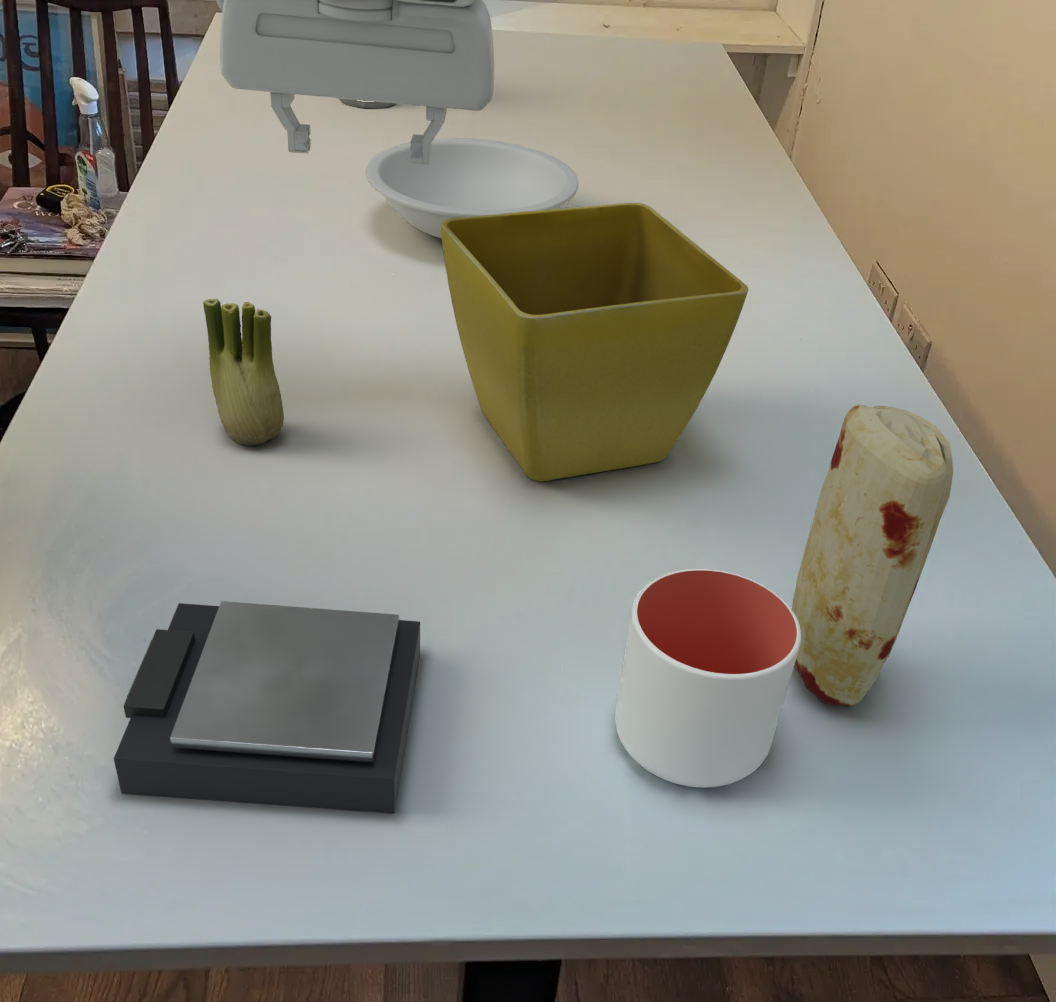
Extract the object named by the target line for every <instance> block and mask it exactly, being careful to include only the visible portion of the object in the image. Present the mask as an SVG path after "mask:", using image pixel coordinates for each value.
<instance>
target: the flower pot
mask: <svg viewBox="0 0 1056 1002" xmlns="http://www.w3.org/2000/svg"><path fill="white" fill-rule="evenodd" d="M440 224H441V237H442V239H441V246H442V251H443V252H442V253H443V258H444V259H443V260H444V266H445V272H446V278H447V284H448V289H449V295H450V299H451V306H452V309H453V315H454V320H455V323H456V328H457V332H458V337H459V341H460V344H461V348H462V352H463V355H464V359H465V362H466V366H467V370H468V373H469V376H470V379H471V383H472V386H473V390H474V393H475V396H476V399H477V401H478V404H479V407H480V411H481V412H482V414H483V416H484V417H485V419H486V420H487V421H488V422H489V424H490V426H491V427H492V429H493V430H494V432H495V433H496V434H497V436H498V437H499V438H500V441H501V442H502V443H503V444H504V446H505V447H506V448H507V450H508V451H509V453H510V454H511V455H512V457H513V458H514V460H515V462H516V463H517V464H518V465H519V467H520V469H521V470H522V471H523V473H524V474H525V475H526V477H527V478H528V479H530V480H532V481H536V482H546V481H547V482H548V481H552V480H558V479H564V478H570V477H577V476H582V475H583V476H584V475H588V474H595V473H601V472H607V471H612V470H619V469H625V468H631V467H635V466H643V465H648V464H654V463H659V462H662V461H664V460H665V459H666V458H667V456H668V454H669V453H670V452H671V451H672V449H673V447H674V446H675V445H676V443H677V442H678V440H679V438H680V437H681V435H682V433H683V432H684V430H685V429H686V428H687V426H688V424H689V422H690V421H691V419H692V418H693V416H694V414H695V412H696V410H697V409H698V407H699V406H700V404H701V402H702V400H703V398H704V397H705V395H706V393H707V391H708V389H709V387H710V385H711V383H712V381H713V379H714V377H715V375H716V373H717V371H718V368H719V366H720V364H721V362H722V359H723V358H724V355H725V353H726V351H727V349H728V347H729V344H730V341H731V338H732V336H733V334H734V332H735V329H736V326H737V324H738V321H739V318H740V316H741V314H742V311H743V308H744V305H745V301H746V299H747V296H748V292H749V286H748V285H747V284H745V282H743V280H741V279H740V278H738V277H737V276H736V275H735V274H734V273H732V271H729V270H728V269H727V267H725V266H723V264H721V263H720V262H718V260H716V259H715V258H714V257H713V256H712V255H710V254H709V253H708V252H707V251H706V250H704V249H703V248H702V247H700V246H699V245H698V244H697V243H696V242H694V241H693V240H691V239H690V238H689V237H688V236H687V235H685V233H683V232H682V231H681V230H680V229H678V228H677V227H676V226H675V225H674V224H672V223H671V222H670V221H669V220H667V218H665V217H664V216H662V215H661V214H660V213H659V212H657V211H656V210H655V209H654V208H652V207H651V206H650V205H648V204H645V203H642V202H622V203H610V204H609V203H608V204H597V205H586V206H575V207H574V206H573V207H563V208H561V207H560V208H557V209H548V210H536V211H525V212H515V213H503V214H492V215H481V216H470V217H459V218H450V219H446V220H443V221H442V222H441V223H440Z"/></svg>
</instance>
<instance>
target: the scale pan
mask: <svg viewBox="0 0 1056 1002" xmlns="http://www.w3.org/2000/svg"><path fill="white" fill-rule="evenodd" d="M218 606H219V609H218V611H217V614H216V617H215V619H214V622H213V625H212V627H211V630H210V633H209V635H208V638H207V641H206V643H205V646H204V649H203V651H202V654H201V656H200V659H199V662H198V664H197V667H196V670H195V672H194V675H193V678H192V680H191V683H190V686H189V688H188V691H187V694H186V696H185V699H184V702H183V704H182V707H181V710H180V712H179V715H178V718H177V720H176V723H175V726H174V728H173V731H172V734H171V736H170V742H171V747H172V748H185V749H199V750H212V751H226V752H239V753H252V754H266V755H279V756H293V757H306V758H320V759H333V760H347V761H360V762H373V761H374V756H375V751H376V745H377V740H378V735H379V729H380V724H381V719H382V713H383V708H384V703H385V697H386V692H387V686H388V681H389V676H390V670H391V665H392V660H393V654H394V649H395V644H396V638H397V633H398V628H399V620H400V614H396V613H383V612H370V611H357V610H346V609H345V610H344V609H332V608H331V609H330V608H318V607H305V606H291V605H279V604H266V603H252V602H251V603H250V602H239V601H228V600H227V601H226V600H221V601H220V603H219V605H218Z"/></svg>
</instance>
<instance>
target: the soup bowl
mask: <svg viewBox="0 0 1056 1002" xmlns="http://www.w3.org/2000/svg"><path fill="white" fill-rule="evenodd" d="M411 153H412V152H411V141H410V142H406V143H405V142H404V143H401V144H398V145H394V146H391V147H388V148H387V149H384V150H382V151H380V152H379V153H377V154H376V155H374V156H373V157H372V158H371V159H370V160H369V161H368V163H367V165H366V168H365V176H366V180H367V182H368V183H369V185H370V186H371V187H372V188H373V189H374V190H375V191H376V192H377V193H378V194H380V195H381V196H383V197H385V199H386V201H387V202H388V204H389V205H390V207H391V208H392V210H394V211H395V213H396V214H398V216H399V217H401V219H402V220H403V221H405V222H407V224H409V225H411V226H412V227H413V228H415V229H417V230H418V231H421V232H423V233H424V234H426V235H428V236H429V235H430V236H432V237H435V238H438V239H441V240H442V237H441V224H440V223H441V222H442V221H443V220H446V219H450V218H459V217H470V216H481V215H492V214H503V213H515V212H525V211H536V210H548V209H559V207H561V206H563V205H564V204H566V203H568V202H569V201H570V200H572V199H573V198H574V196H575V195H576V194H577V192H578V190H579V178H578V175H577V174H576V172H575V171H574V170H573V169H572V168H571V166H570V165H568V164H567V163H565V162H564V161H562V160H560V159H559V158H557V157H555V156H553V155H550V154H548V153H546V152H543V151H541V150H538V149H536V148H535V149H534V148H531V147H529V146H525V145H521V144H516V143H512V142H506V141H502V140H501V141H500V140H492V139H485V138H484V139H483V138H471V137H470V138H469V137H444V138H443V137H442V138H434V139H433V141H432V142H431V160H430V164H429V165H425V164H414V163H411V162H410V156H411Z"/></svg>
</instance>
